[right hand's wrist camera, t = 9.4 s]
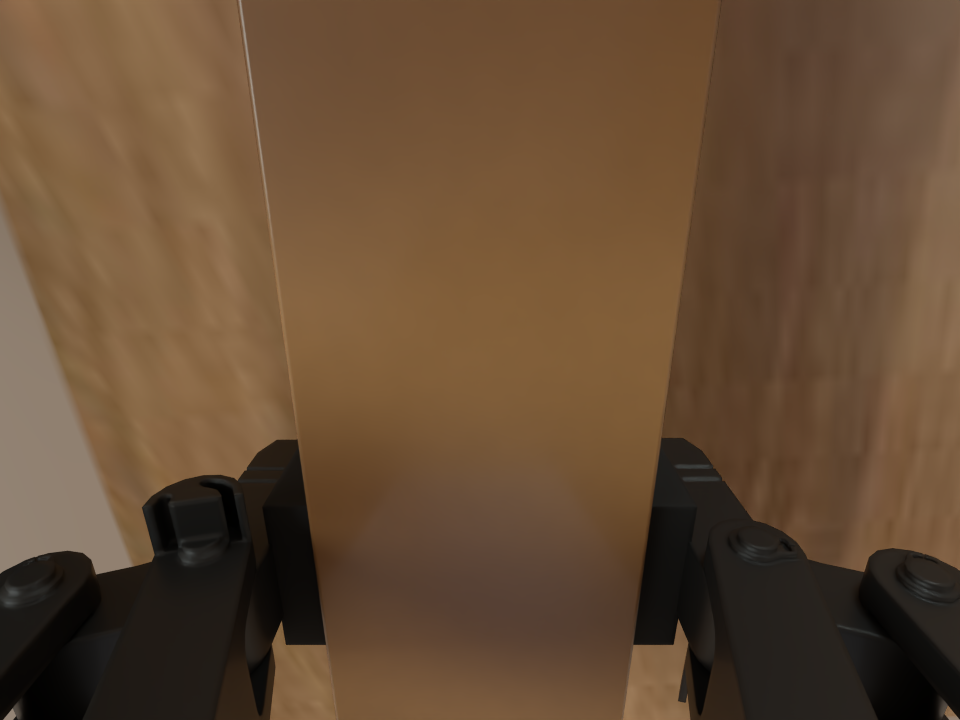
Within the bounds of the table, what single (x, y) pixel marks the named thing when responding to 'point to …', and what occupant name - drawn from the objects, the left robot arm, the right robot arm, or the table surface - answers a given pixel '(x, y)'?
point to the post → (479, 329)
